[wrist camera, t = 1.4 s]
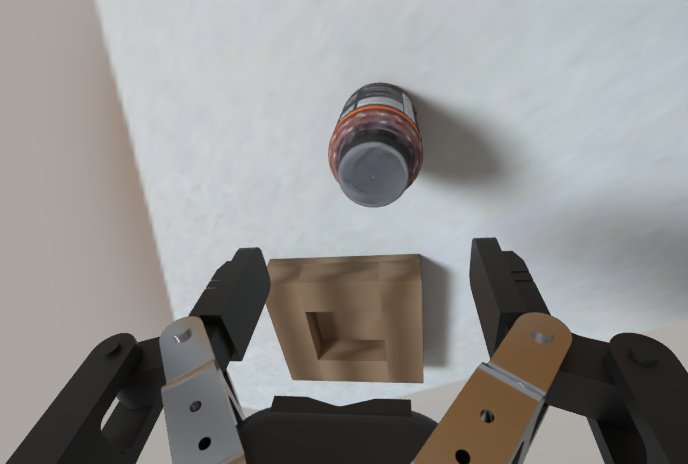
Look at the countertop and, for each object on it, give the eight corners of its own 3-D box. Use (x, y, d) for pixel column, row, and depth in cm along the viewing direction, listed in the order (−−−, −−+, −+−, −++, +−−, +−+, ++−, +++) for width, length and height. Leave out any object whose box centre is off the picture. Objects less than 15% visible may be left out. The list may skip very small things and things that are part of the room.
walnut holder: (419, 254, 36) (421, 280, 33) (421, 354, 45) (423, 383, 41) (270, 259, 39) (258, 284, 35) (299, 353, 47) (292, 380, 44)
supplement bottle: (399, 162, 31) (401, 236, 21) (334, 140, 30) (308, 206, 21) (428, 94, 27) (446, 147, 18) (355, 69, 27) (335, 109, 18)
